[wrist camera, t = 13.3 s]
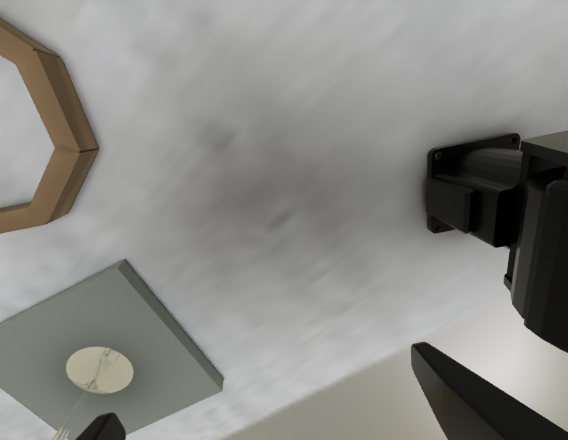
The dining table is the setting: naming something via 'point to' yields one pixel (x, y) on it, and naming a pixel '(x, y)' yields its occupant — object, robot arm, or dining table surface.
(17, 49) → the ring holder
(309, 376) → the dining table surface
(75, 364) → the wineglass
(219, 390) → the slate board
